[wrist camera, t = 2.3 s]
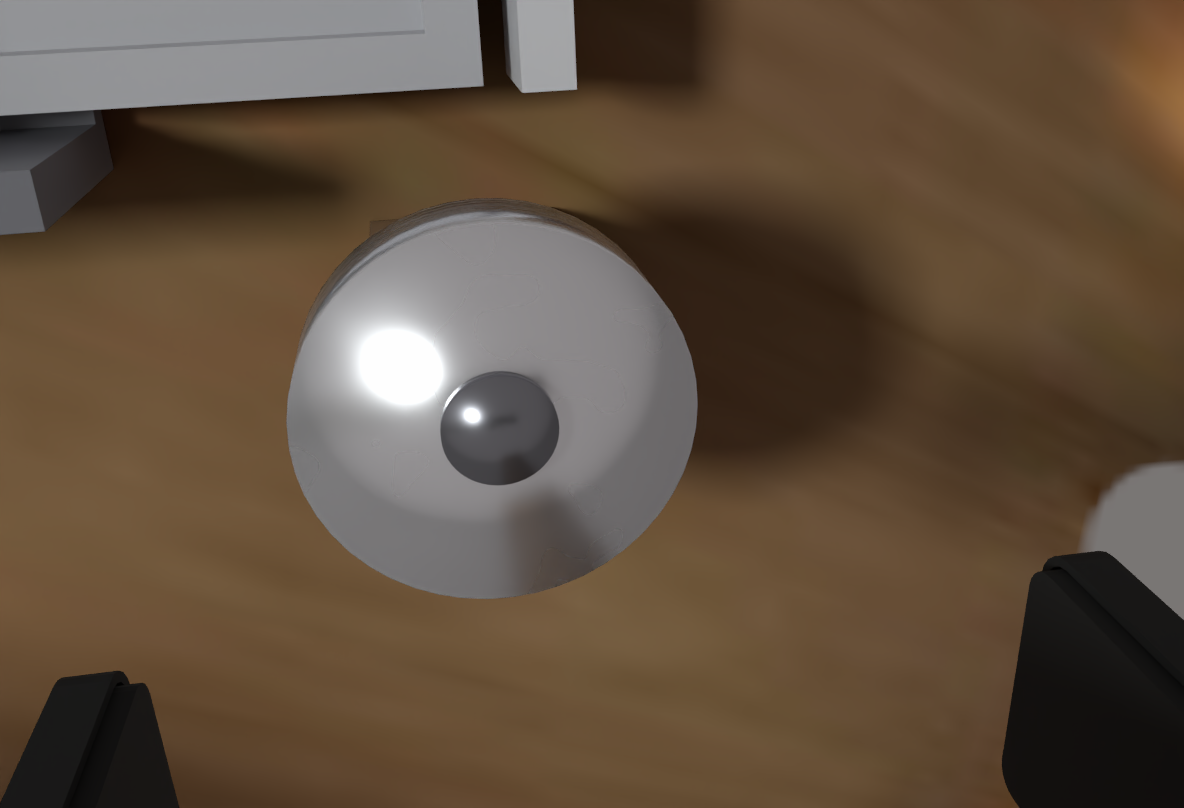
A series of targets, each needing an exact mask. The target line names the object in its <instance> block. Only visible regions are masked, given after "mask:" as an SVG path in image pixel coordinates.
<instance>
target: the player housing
mask: <svg viewBox="0 0 1184 808" xmlns="http://www.w3.org/2000/svg"><path fill="white" fill-rule="evenodd" d="M113 169H114V168H113V164H112V159H111V154H110V150H109V145H108V141H107V136H106V131H105V127H104V122H103V117H102V113H101V110H85V111H69V112H52V113H36V114H20V115H3V116H0V235H4V234H18V233H31V232H44V231H46V230H47V229H48V228H49V227H51V226H52V225H53V224H54V223H55V222H56V221H57V220H58V219H59V218H60V217H62V216H63V215H64V214H65V213H66V212H67V211H68V210H69V209H70V208H71V207H73V206H74V205H75V204H76V203H77V202H78V201H79V200H80V199H81V198H82V197H84V196H85V195H86V194H87V193H88V192H89V191H90V190H91V189H92V188H93V187H95V186H96V185H97V184H98V183H99V182H100V181H101V180H102V179H103V178H104V177H106V176H107V175H108V174H109V173H110V172H111V171H112V170H113Z"/></svg>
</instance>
